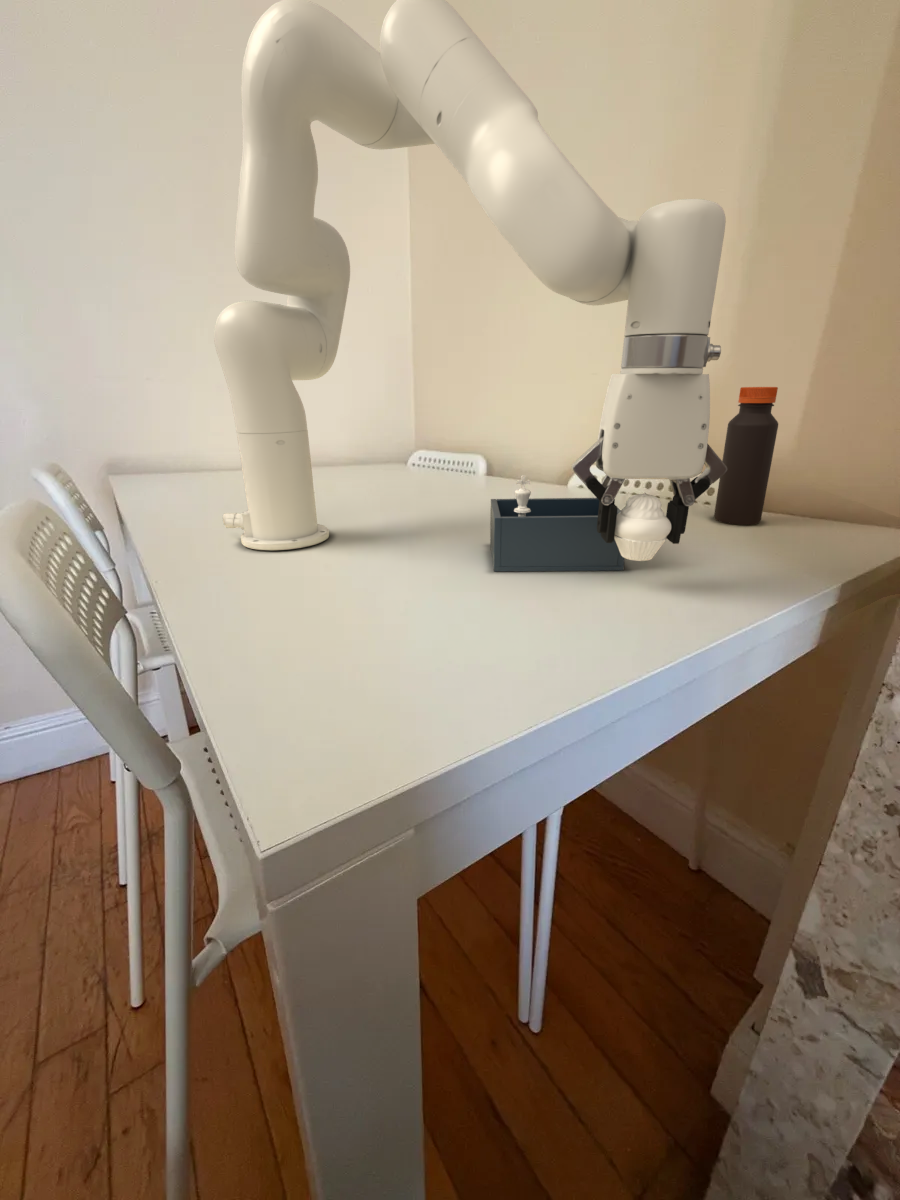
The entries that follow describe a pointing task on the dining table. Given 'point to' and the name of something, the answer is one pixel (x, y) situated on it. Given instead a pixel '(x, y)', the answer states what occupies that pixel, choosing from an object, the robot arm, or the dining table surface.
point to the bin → (550, 537)
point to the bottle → (747, 458)
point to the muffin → (641, 527)
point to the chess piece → (522, 497)
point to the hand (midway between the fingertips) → (638, 538)
